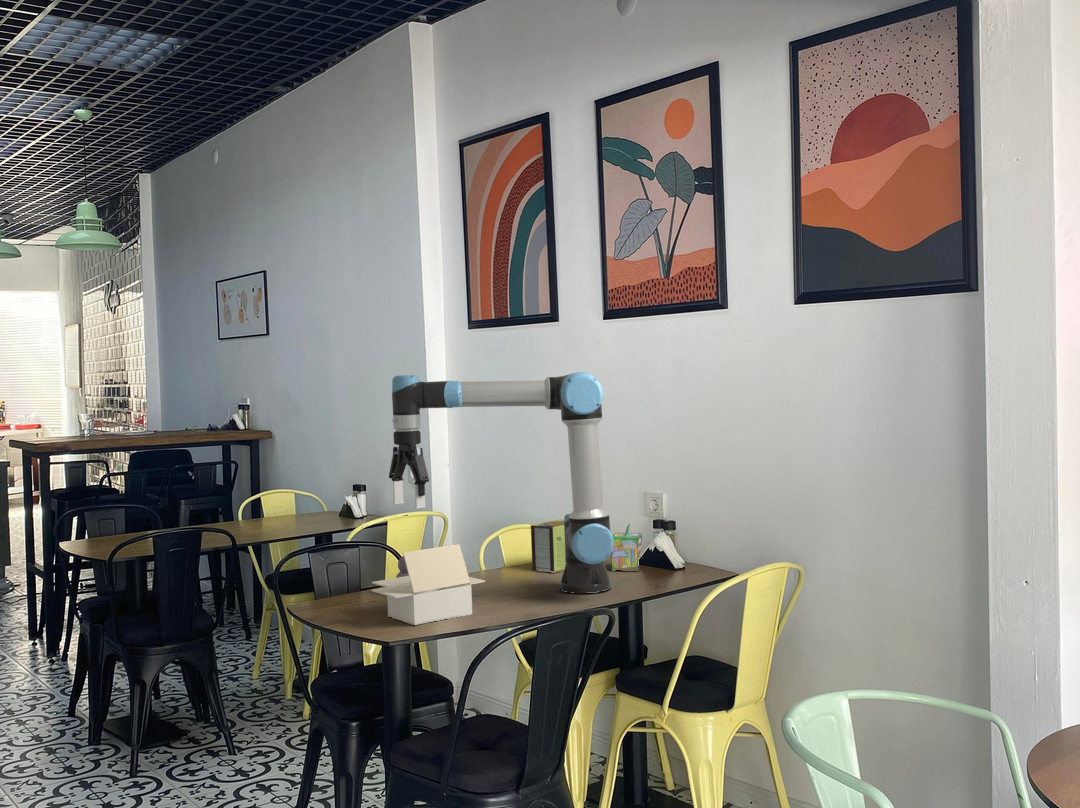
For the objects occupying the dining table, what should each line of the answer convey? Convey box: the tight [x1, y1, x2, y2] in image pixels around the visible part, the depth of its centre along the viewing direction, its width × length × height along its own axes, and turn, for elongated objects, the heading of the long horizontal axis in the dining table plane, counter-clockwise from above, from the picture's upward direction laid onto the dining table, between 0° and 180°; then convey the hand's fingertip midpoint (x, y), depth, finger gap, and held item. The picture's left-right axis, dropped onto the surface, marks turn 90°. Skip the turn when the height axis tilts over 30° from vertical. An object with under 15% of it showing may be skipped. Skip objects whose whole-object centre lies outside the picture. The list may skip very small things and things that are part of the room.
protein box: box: [530, 519, 565, 571], centre depth 324 cm, size 10×15×16 cm
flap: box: [402, 543, 470, 593], centre depth 258 cm, size 11×18×1 cm
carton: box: [371, 576, 486, 625], centre depth 265 cm, size 23×28×8 cm
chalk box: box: [610, 523, 643, 569], centre depth 318 cm, size 9×9×15 cm
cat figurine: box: [395, 556, 409, 578], centre depth 291 cm, size 8×8×12 cm
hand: (409, 506), depth 270 cm, fingers open, 13 cm apart
